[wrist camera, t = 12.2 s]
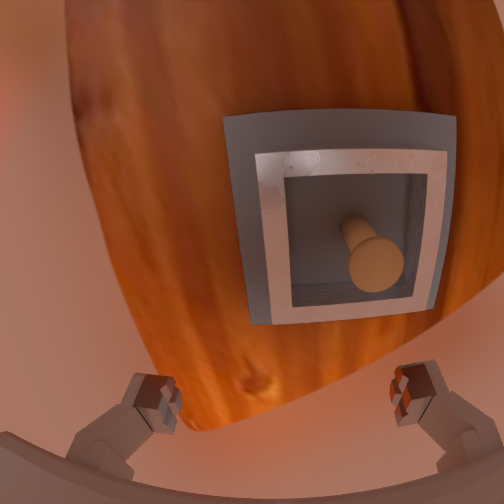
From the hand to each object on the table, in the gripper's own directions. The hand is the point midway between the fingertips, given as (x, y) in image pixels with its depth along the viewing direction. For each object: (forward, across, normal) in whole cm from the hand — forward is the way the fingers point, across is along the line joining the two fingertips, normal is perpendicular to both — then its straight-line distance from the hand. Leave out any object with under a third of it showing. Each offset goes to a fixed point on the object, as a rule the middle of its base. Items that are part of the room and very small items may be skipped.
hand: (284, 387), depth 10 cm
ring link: (+15, -5, 0) cm, 16 cm away
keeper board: (+16, -6, 0) cm, 17 cm away
